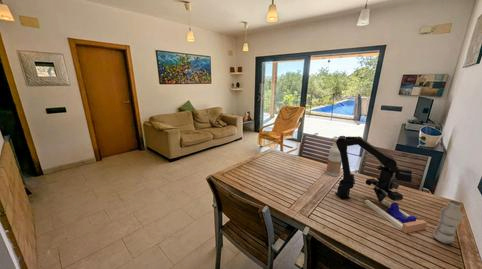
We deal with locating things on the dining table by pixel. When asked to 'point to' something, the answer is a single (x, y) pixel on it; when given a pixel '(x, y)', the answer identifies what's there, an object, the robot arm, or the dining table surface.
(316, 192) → the dining table surface
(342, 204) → the dining table surface
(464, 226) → the dining table surface
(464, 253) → the dining table surface
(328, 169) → the fruit juice
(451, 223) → the plastic bottle
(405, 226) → the guide channel
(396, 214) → the cable clip
